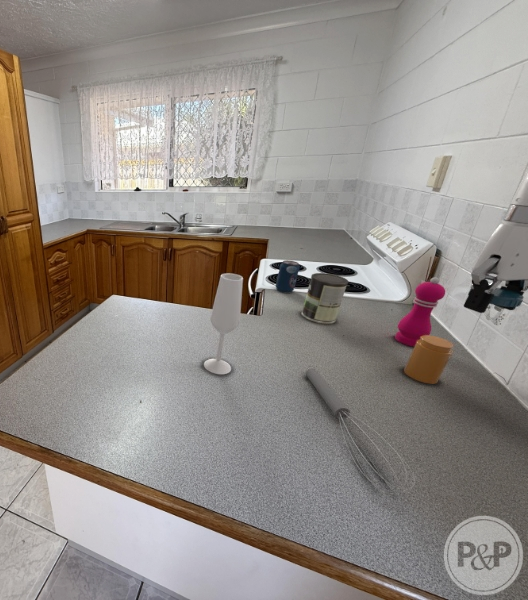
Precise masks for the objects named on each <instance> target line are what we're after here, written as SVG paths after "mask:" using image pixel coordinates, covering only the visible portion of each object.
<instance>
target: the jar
mask: <svg viewBox="0 0 528 600" xmlns="http://www.w3.org/2000/svg"><path fill="white" fill-rule="evenodd" d="M453 348H454V344H453V343H452V342H451V341H449V340H447V339H445V338H442V337H440V336H436V335H423V336H421V337H420V339H419V340H417V342H416V344H415V346H413V348H412V351H411V353H410V356H409V357H408V359H407V362H406V364H405V366H404V369H403V373H404V374H405V375H407V376H408V377H410V378H411V379H413V380H415V381H417V382H421V383H424V384H429V385H434V384H438V382H439V380H440V379H441V377H442V375H443V373H444V370H445V368H446V367H447V365H448V363H449V361H450V359H451V357H452V355H453V354H454V350H453Z"/></svg>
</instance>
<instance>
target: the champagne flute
mask: <svg viewBox="0 0 528 600" xmlns="http://www.w3.org/2000/svg"><path fill="white" fill-rule="evenodd" d="M219 277H220V278H219V282H218V286H217V289H216V294H215V298H214V302H213V304H212V310H211V314H210V317H209V320H210V323H211V325H212V327H213V328H214V329H215V330H216V332H218V333H219V337H218V338H219V339H218V345H217V351H216V357H215V358H209V359H207V360H205V361H204V363H203V366H204V368H205V369H206V370H207V371H208V372H210V373H212V374H215V375H226V374H229V373H230V372H231V371H232V366H231V365H230V363H228V362H227V361H225V360H223V359H222V356H223V349H224V344H225V337H226V334H229V333H231V332H234V331H235V330H236V329H237V328H239V326H240V323H241V312H242V311H241V309H242V299H243V296H242V295H243V283H244V278H243V276H242V275H240V274H236V273H221V275H220V276H219Z"/></svg>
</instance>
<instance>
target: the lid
mask: <svg viewBox="0 0 528 600" xmlns="http://www.w3.org/2000/svg"><path fill="white" fill-rule="evenodd" d="M500 288H501V287H497V288H496V289H495V290H494V291H493V292H492V294H494V296H493V298H492V300H491V302H490V304H489V305H493V306H495V305H498V306H505V307H516V308H517V307H521V305H522V303H523V300H524V295H523V296H522V295H520V294H518V293H515V292H512V291H508V290H505V289H500ZM470 291H471V288H470V289H469V291H468V294H467V296H468V295H469V293H470ZM498 306H497V307H498Z"/></svg>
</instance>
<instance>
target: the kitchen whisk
mask: <svg viewBox="0 0 528 600" xmlns="http://www.w3.org/2000/svg"><path fill="white" fill-rule="evenodd" d="M311 367H312V368H311ZM305 374H306V377H307V378H308V380H309V381H310V382H311V384H312V385H313V387H314V388H315V390H316V391H317V392H318V394H319V395H320V397H321V398H322V400H323V401H324V402H325V404H326V405H327V406H328V408H329V409H330V411H331V412H332V413H333V415H334V416H335V418H337V419H338V421H339V424H340V428H341V433H342V436H343V439H344V442H345V445H346V447H347V450H348V452H349V454H350V456H351V458H352V460H353V461H354V463H355V465H356V466H357V468H358V470H359V471H360V472H361V474H362V475H363V476H364V477H365V478H366V479H367V480H368V481H369V482H370V483H371V484H372V485H373V486H374V487H375V488H376V489H377V490H378V491H380V492H381V493H382V494H386V495H392V496H393V495H396V496H397V497H402V493H404V494H410V493H411V490H412V489H413V487H414V486H415V484H416V480H415V474H414V472H413V471H412V469H411V468H410V466H409V464H408V463H407V462H406V461H405V459H403V457H402V456H401V455H400V454H399V453H398V452H397V450H395V448H393V446H392V445H391V444H390V443H389V442H388V441H387V440H386V439H385V438H384V437H383V436H382V435H380V434H379V433H378V432H377V431H376V430H374V429H373V428H372V427H371V426H369V425H368V424H366V423H365V422H364V421H362V420H361V419H359V418H358V417H356V416H355V415H353V414H351V411H350V409H349V408H348V407H347V406H346V404H344V402H343V401H342V399H341V398H340V397H339V396H338V395H337V393H336V392H335V391H334V389H333V388H332V387H331V385H329V383H328V382H327V381H326V380H325V378H324V377H323V376H322V374H321V373H320V372H319V370H317V369H316V367H315V366H313V365H308V367H307V368H306V370H305ZM352 418H353V419H354V420H356V421H357V422H358V423H359V424H361V425H362V426H364V427H365V428H366V429H368V430H369V431H370V432H371V433H373V434H374V435H375V436H376V437H378V438H379V439H380V440H381V441H382V442H383V443H385V444H386V445H387V446H388V447H389V448H390V449H391V450H392V451H393V452H394V453H395V454H396V455H397V457H398V458H399V460H400V462H401V463H402V465H403V468H404V472H405V478H404V476H403V475H402V474H401V473H400V471H399V470H398V469H397V468H396V467H395V465H394V464H393V463H392V461H390V460H389V458H388V457H387V456H386V455H385V454H384V453H383V452H382V450H381V449H379V447H378V446H377V444H375V443H374V441H373V440H372V439H371V438H370V437H369V436H368V434H367V433H366V432H365V431H364V430H363V429H362V427H360V426H359V425H358V424H357V423H356V422H355V421H354V420H353V419H352ZM346 419H349V420H350V421H351V423H352V424H353V425H354V426H356V428H357V429H358V430H359V431H360V432H361V433H362V435H364V436H365V437H366V438H367V439H368V440H369V441H370V442H371V443H372V444H373V446H374V447H375V448H376V449H377V450H378V452H379V453H380V454H381V456H382V457H383V459H384V460H385V461H386V463H387V465H388V466H389V468H390V469H391V472H392V473H393V475H394V477H395V479H396V481H397V484H398V487H396V486H394V485H393V484H391V483H390V482H389V481H387V480H386V479H385V478H384V476H383V475H382V474H381V472H380V471H379V470H378V468H377V467H376V465H375V464H374V463H373V461H372V460H371V458H370V457H369V455H368V453H367V452H366V450H365V449H364V447H363V445H362V444H361V443H360V441H359V439H358V438H357V436H356V434H355V433H354V431H353V429H352V428H351V426H350V424H349V423H348V421H347V420H346ZM345 423H346V424H347V425H346V424H345ZM347 426H348V427H347ZM348 428H349V429H350V431H351V433H352V434H353V436H354V438H355V439H356V440H357V442H358V444H359V445H360V447H361V448H362V450H363V452H364V453H365V455H366V456H367V458H368V459H369V461H370V462H371V463H370V462H369V461H368V460H367V459H366V457H365V455H364V454H363V452H361V450H360V448H359V447H358V446H357V444H356V442H355V440H354V439H353V437H352V436H351V433H350V431H349V429H348ZM344 433H345V434H344ZM345 435H346V437H345ZM348 435H349V436H348ZM349 437H350V439H351V441H352V443H353V444H354V445H355V447H356V449H357V450H358V451H359V454H360V455H361V456H362V458H363V459H364V460H365V461H366V463H367V464H368V465H369V467H370V468H371V469H372V470H373V471H374V472H375V473H376V474H377V475H378V476H379V477H380V478H381V479H382V480H383V481H384V482H385V484H386V485H387V486H388V487H389V488H390V490H389V489H387V488H383V487H381V486H379V485H377V484H376V483H374V482H373V481H372V480H371V479H370V478H369V476H368V474H367V473H366V472H365V470H364V467H363V466H362V465H361V462H360V461H359V459H358V457H357V455H356V453H355V450H354V448H353V446H352V444H351V441H350V439H349ZM346 438H347V439H346ZM347 441H348V443H349V445H348V443H347ZM349 446H350V448H351V450H350V448H349ZM351 451H352V452H351ZM352 453H353V455H352ZM354 457H355V458H354ZM355 459H356V460H355ZM356 461H357V462H356ZM371 464H372V465H373V466H372V465H371ZM405 465H406V466H407V468H408V470H409V471H410V473H411V474H412V479H413V483H412V485H411V487H410V486H409V484H408V482H407V481H408V480H407V479H408V471H407V468H406V466H405ZM359 466H360V467H359ZM392 467H393V468H394V469H395V471H396V472H397V473H398V474H399V476H400V477H401V478H402V480H403V481H404V483H403V485H402V486H401V484H400V481H399V479H398V477H397V475H396V473H395V471H394V469H393V468H392ZM405 485H406V486H407V489H404V487H405ZM394 489H396V490H394ZM403 489H404V490H403ZM385 491H386V492H385ZM407 491H408V492H407ZM398 493H399V494H398Z"/></svg>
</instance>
